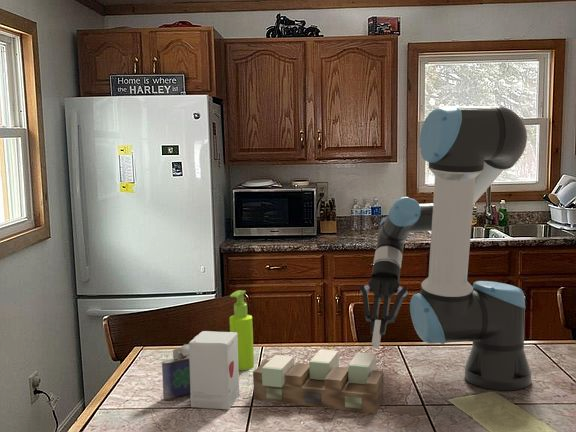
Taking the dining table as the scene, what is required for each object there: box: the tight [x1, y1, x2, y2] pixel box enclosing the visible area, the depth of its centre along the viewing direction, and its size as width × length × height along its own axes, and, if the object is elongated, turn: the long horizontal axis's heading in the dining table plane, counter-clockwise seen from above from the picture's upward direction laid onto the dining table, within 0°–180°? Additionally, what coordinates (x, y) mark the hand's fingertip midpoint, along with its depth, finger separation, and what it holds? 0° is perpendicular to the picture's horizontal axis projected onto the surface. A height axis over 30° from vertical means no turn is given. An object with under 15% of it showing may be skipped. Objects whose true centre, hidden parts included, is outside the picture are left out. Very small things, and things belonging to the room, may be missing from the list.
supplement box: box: [188, 330, 240, 410], centre depth 144 cm, size 9×9×15 cm
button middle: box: [308, 348, 340, 380], centre depth 149 cm, size 4×9×4 cm, turn 161°
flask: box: [161, 350, 191, 402], centre depth 148 cm, size 9×3×11 cm, turn 121°
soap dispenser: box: [228, 289, 255, 371], centre depth 165 cm, size 6×7×20 cm
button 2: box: [347, 352, 377, 384], centre depth 146 cm, size 4×9×4 cm, turn 161°
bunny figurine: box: [172, 343, 189, 359], centre depth 169 cm, size 10×5×15 cm
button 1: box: [262, 354, 295, 387], centre depth 145 cm, size 4×9×4 cm, turn 161°
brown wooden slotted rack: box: [252, 359, 384, 415], centre depth 144 cm, size 28×8×6 cm, turn 71°
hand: (375, 345), depth 161 cm, fingers closed
